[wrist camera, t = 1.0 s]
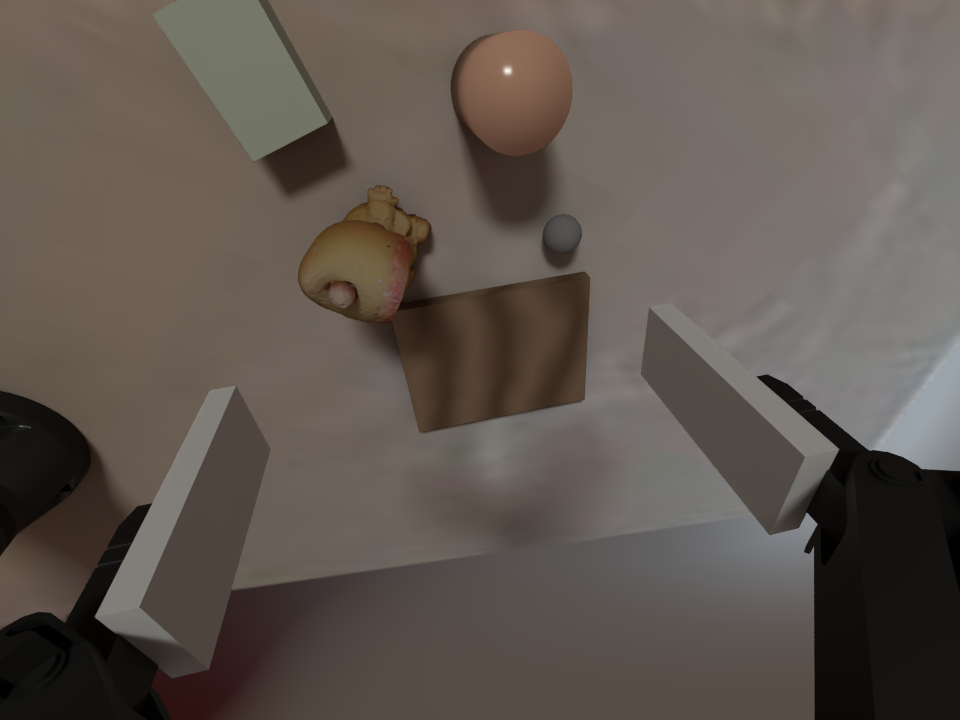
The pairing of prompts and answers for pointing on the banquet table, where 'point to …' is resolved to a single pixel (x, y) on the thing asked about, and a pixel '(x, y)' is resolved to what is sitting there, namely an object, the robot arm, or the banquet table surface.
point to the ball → (562, 234)
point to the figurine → (364, 259)
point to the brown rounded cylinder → (512, 91)
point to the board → (495, 350)
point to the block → (246, 70)
